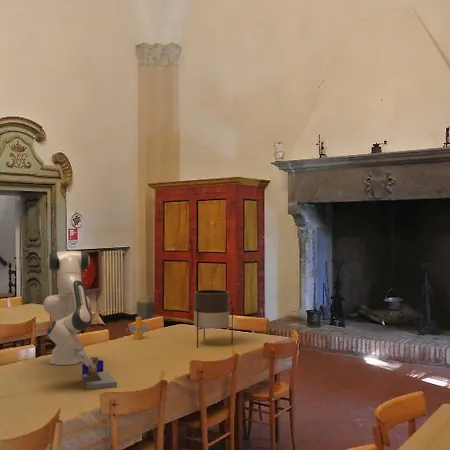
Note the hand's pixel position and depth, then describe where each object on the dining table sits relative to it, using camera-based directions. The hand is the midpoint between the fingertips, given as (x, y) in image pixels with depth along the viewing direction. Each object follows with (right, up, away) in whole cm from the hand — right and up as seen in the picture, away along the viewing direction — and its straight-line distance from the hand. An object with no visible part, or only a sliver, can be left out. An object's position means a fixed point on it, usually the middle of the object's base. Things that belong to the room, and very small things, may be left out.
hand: (94, 366), depth 296 cm
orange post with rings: (+5, -9, +116) cm, 116 cm away
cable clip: (-5, -9, +21) cm, 23 cm away
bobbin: (-1, -5, 0) cm, 5 cm away
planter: (+56, -9, +97) cm, 113 cm away
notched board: (+2, -9, +1) cm, 9 cm away
